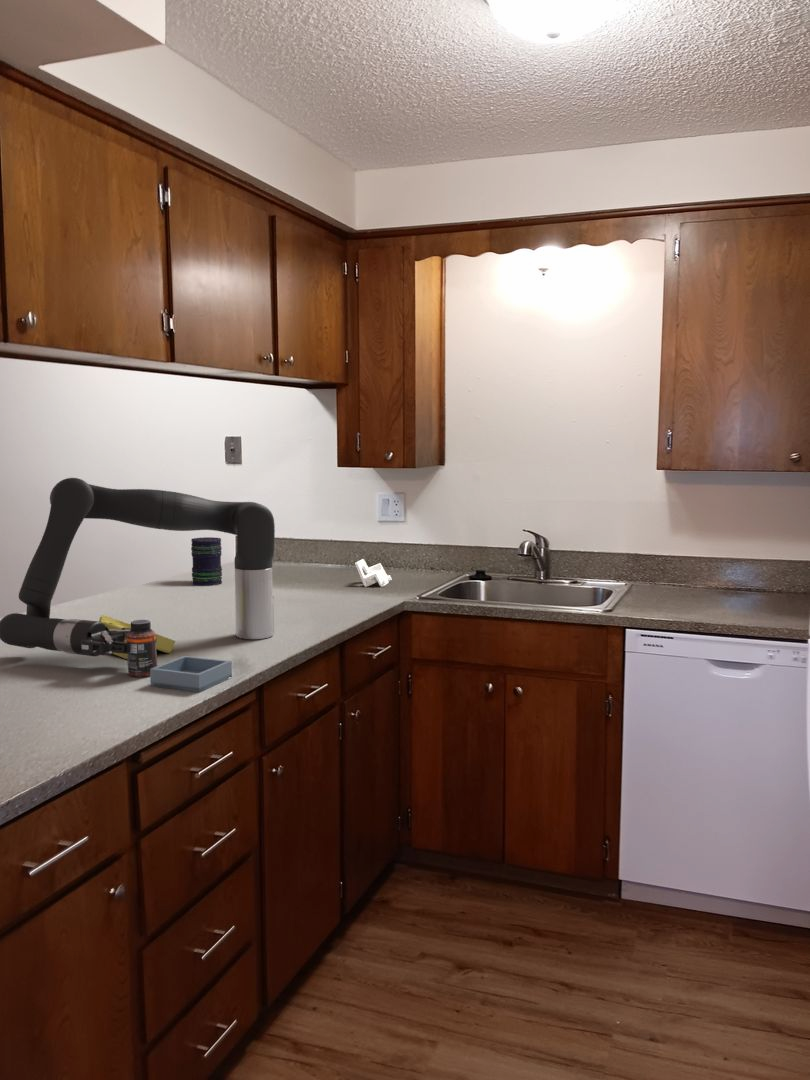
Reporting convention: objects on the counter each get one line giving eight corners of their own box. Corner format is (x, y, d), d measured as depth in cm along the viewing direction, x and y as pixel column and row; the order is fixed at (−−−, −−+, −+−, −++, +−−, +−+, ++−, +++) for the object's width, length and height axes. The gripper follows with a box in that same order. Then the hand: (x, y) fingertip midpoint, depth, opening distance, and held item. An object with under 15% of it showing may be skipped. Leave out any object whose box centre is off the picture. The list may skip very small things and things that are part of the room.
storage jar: (186, 585, 300) (185, 540, 298) (199, 580, 310) (198, 536, 308) (214, 586, 298) (213, 541, 296) (227, 581, 308) (226, 537, 306)
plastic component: (179, 642, 211) (146, 630, 203) (167, 673, 209) (134, 662, 202) (129, 624, 223) (96, 612, 215) (117, 652, 221) (84, 642, 214)
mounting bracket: (376, 587, 310) (363, 558, 310) (392, 580, 309) (380, 551, 308) (367, 593, 298) (354, 563, 298) (384, 586, 297) (371, 555, 297)
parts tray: (184, 671, 193) (184, 655, 193) (231, 677, 189) (231, 661, 189) (150, 686, 183) (150, 668, 182) (199, 692, 178) (199, 674, 178)
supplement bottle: (148, 668, 196) (146, 617, 194) (162, 674, 192) (161, 621, 190) (122, 674, 192) (120, 621, 190) (136, 679, 187) (134, 625, 186)
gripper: (56, 626, 190) (119, 633, 184) (102, 614, 203) (163, 619, 197) (58, 661, 191) (120, 669, 185) (104, 647, 204) (164, 653, 198)
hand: (142, 643), depth 191 cm, fingers open, 8 cm apart
